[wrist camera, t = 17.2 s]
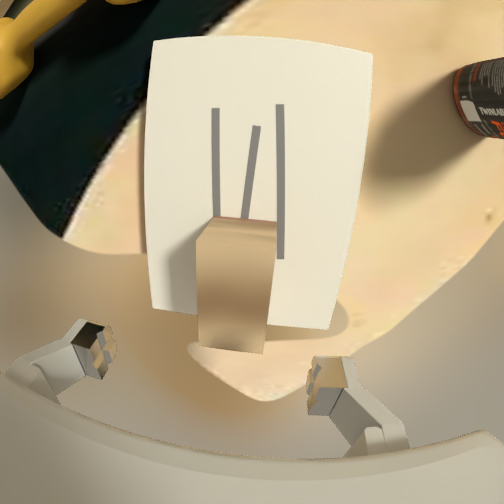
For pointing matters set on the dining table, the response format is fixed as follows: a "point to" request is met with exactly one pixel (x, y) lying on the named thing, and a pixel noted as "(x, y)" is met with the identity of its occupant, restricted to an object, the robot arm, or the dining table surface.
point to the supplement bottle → (482, 97)
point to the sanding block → (235, 282)
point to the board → (255, 161)
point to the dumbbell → (30, 37)
